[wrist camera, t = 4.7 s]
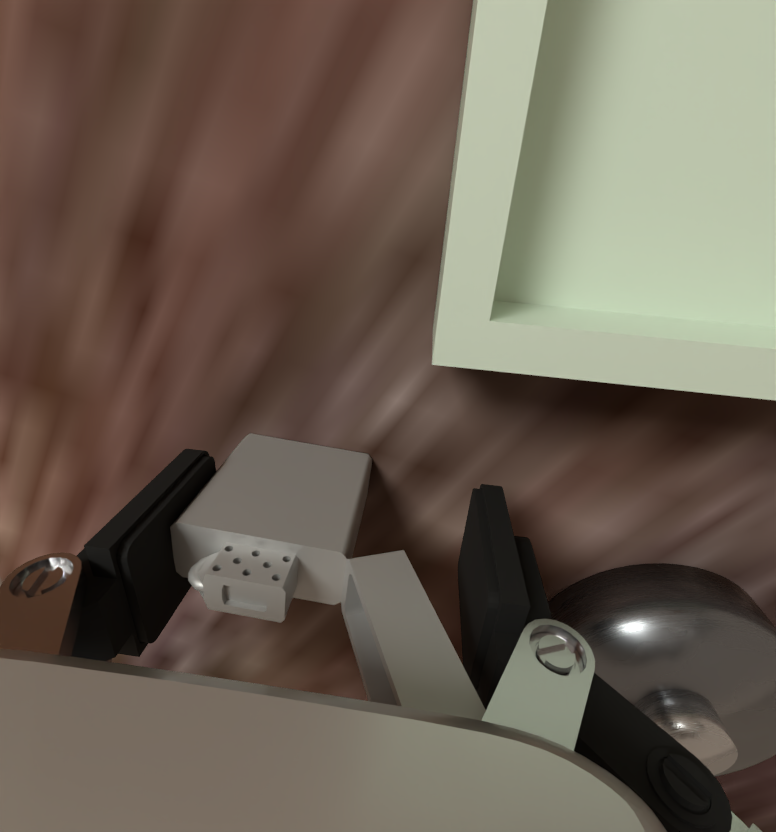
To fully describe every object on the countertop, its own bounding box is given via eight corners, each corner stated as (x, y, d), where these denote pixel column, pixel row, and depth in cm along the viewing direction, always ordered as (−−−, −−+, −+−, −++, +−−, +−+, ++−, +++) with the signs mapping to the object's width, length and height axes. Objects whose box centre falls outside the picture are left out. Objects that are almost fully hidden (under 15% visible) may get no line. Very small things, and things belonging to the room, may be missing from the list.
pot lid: (808, 581, 14) (921, 694, 11) (708, 723, 17) (770, 841, 14) (557, 549, 14) (592, 648, 11) (509, 694, 18) (525, 801, 15)
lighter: (245, 477, 14) (54, 746, 7) (244, 432, 14) (30, 684, 6) (455, 514, 14) (474, 830, 7) (466, 471, 13) (502, 776, 6)
